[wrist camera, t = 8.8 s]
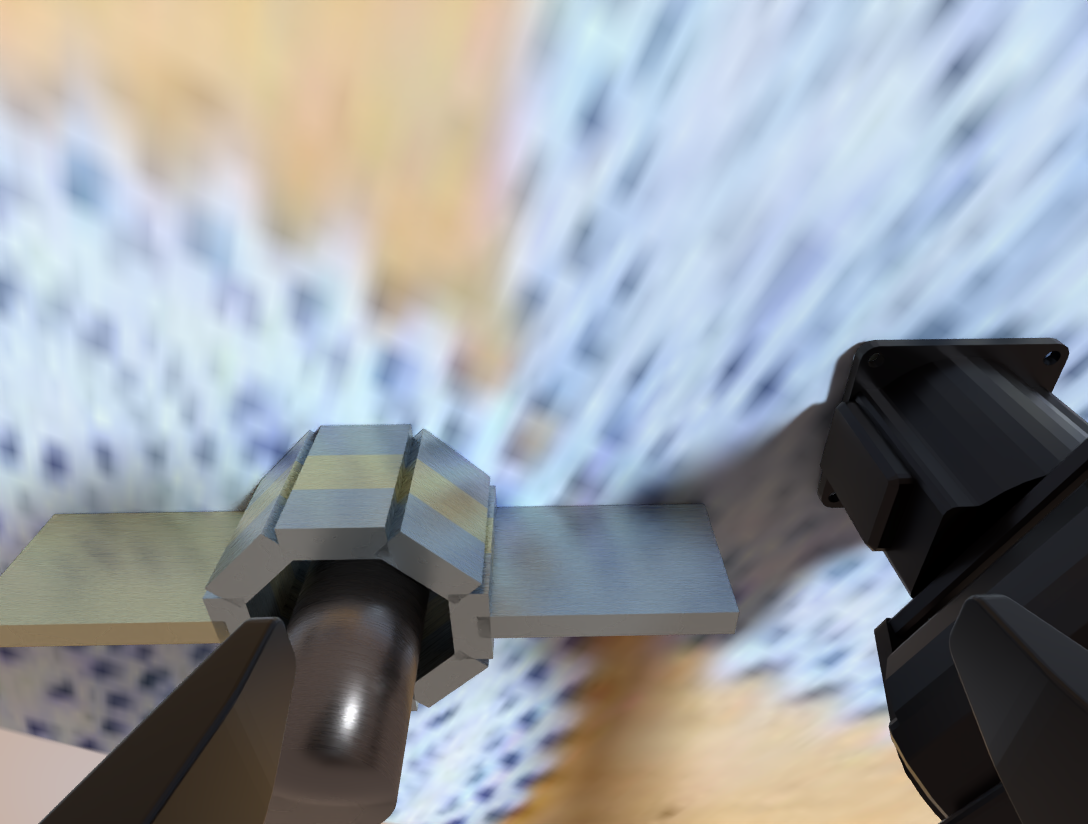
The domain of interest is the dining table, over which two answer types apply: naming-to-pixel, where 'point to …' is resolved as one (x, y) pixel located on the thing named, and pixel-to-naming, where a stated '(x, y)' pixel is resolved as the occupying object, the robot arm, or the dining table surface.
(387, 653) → the hinge pin
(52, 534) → the hinge
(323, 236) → the dining table surface
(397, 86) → the dining table surface
